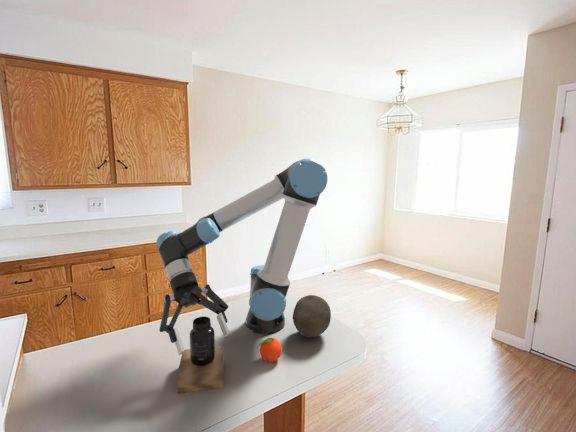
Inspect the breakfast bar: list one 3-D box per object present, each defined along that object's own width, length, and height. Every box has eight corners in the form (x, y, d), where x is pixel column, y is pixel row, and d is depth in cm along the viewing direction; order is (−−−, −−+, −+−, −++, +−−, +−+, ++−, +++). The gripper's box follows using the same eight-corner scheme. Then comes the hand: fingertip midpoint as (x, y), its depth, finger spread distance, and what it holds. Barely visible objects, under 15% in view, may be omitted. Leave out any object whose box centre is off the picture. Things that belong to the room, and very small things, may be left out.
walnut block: (223, 360, 94) (223, 345, 94) (223, 387, 83) (223, 370, 82) (183, 365, 92) (182, 349, 91) (177, 393, 80) (177, 376, 80)
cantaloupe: (284, 331, 113) (285, 293, 110) (316, 323, 119) (318, 287, 117) (304, 351, 100) (305, 308, 98) (338, 341, 107) (340, 301, 104)
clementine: (259, 369, 91) (260, 347, 90) (253, 356, 97) (253, 335, 96) (284, 363, 94) (285, 342, 93) (277, 351, 100) (277, 331, 99)
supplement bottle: (193, 352, 90) (192, 314, 88) (216, 351, 91) (216, 314, 89) (187, 367, 83) (186, 326, 81) (213, 366, 84) (212, 325, 82)
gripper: (214, 274, 104) (238, 333, 95) (135, 292, 87) (156, 365, 78) (222, 263, 99) (248, 323, 90) (140, 280, 82) (163, 356, 73)
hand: (205, 343), depth 84 cm, fingers open, 13 cm apart
